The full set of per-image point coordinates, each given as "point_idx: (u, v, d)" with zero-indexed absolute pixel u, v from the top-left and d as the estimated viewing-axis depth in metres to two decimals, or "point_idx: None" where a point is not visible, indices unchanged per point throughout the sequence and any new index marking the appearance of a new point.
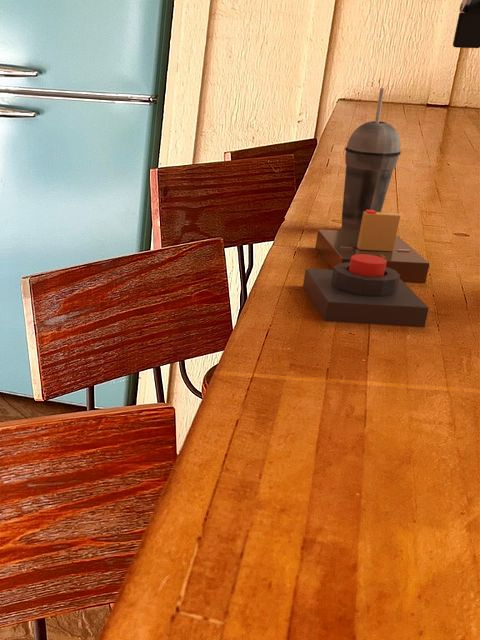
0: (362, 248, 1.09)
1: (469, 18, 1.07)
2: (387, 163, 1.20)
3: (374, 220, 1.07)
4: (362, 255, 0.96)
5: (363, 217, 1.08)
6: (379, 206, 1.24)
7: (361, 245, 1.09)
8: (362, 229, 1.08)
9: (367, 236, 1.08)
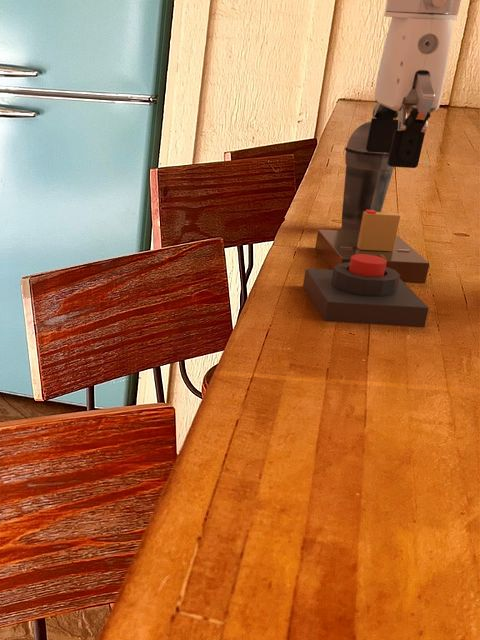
0: (362, 248, 1.09)
1: (381, 124, 1.08)
2: (387, 163, 1.20)
3: (374, 220, 1.07)
4: (362, 255, 0.96)
5: (363, 217, 1.08)
6: (379, 206, 1.24)
7: (361, 245, 1.09)
8: (362, 229, 1.08)
9: (367, 236, 1.08)
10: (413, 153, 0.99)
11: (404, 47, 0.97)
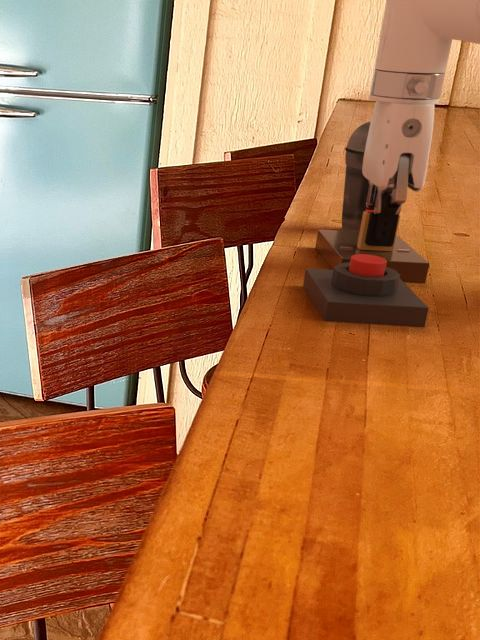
0: (362, 248, 1.09)
1: None
2: None
3: None
4: (362, 255, 0.96)
5: (363, 217, 1.08)
6: None
7: (361, 245, 1.09)
8: (362, 229, 1.08)
9: None
10: (388, 234, 1.06)
11: (389, 130, 1.00)
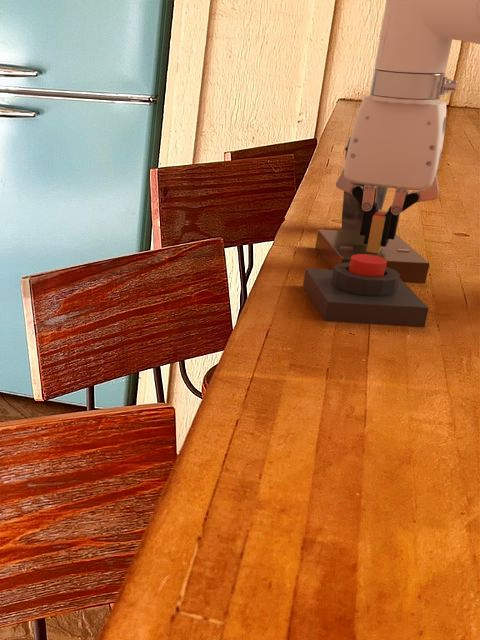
0: (378, 251, 1.08)
1: None
2: None
3: None
4: (362, 255, 0.96)
5: (376, 221, 1.06)
6: (379, 206, 1.24)
7: (379, 249, 1.07)
8: (378, 233, 1.07)
9: (381, 238, 1.07)
10: None
11: (433, 131, 1.00)
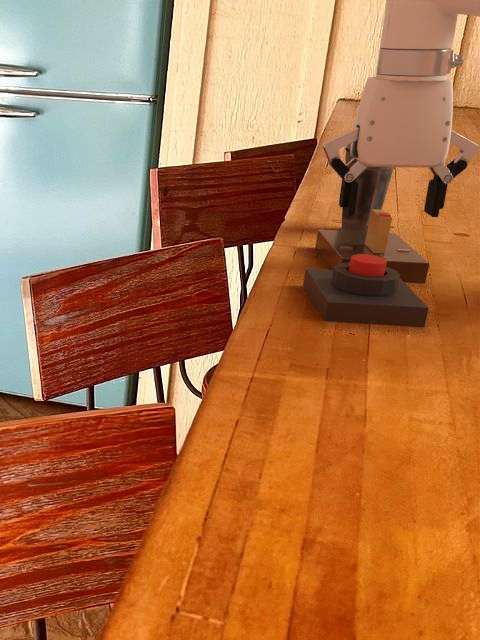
0: (384, 251, 1.08)
1: None
2: None
3: None
4: (362, 255, 0.96)
5: (383, 222, 1.06)
6: (379, 206, 1.24)
7: (385, 249, 1.07)
8: (385, 233, 1.07)
9: None
10: None
11: (448, 107, 1.00)
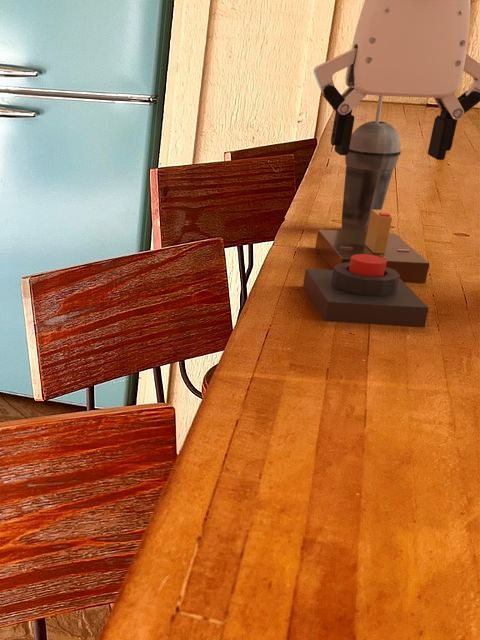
0: (384, 251, 1.08)
1: None
2: (387, 163, 1.20)
3: None
4: (362, 255, 0.96)
5: (383, 222, 1.06)
6: (379, 206, 1.24)
7: (385, 249, 1.07)
8: (385, 233, 1.07)
9: None
10: None
11: (464, 23, 0.84)
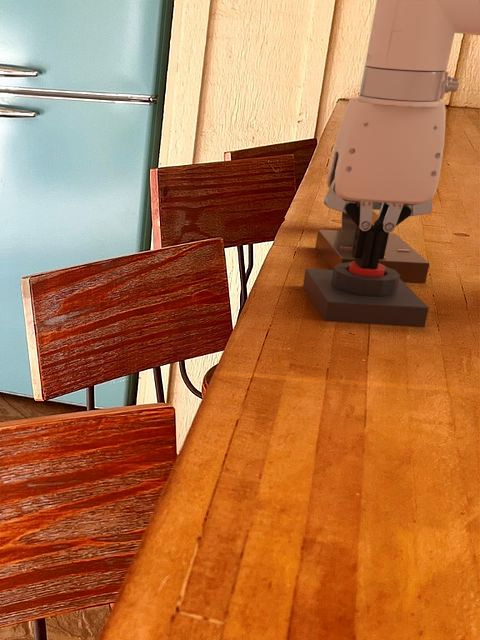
0: None
1: None
2: None
3: None
4: None
5: None
6: (379, 206, 1.24)
7: None
8: None
9: None
10: None
11: (439, 137, 0.88)
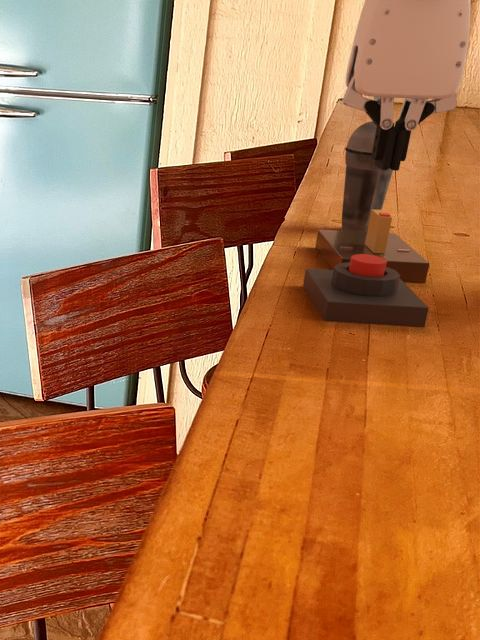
0: (384, 251, 1.08)
1: None
2: None
3: None
4: (362, 255, 0.96)
5: (383, 222, 1.06)
6: (379, 206, 1.24)
7: (385, 249, 1.07)
8: (385, 233, 1.07)
9: None
10: None
11: (464, 24, 0.83)
